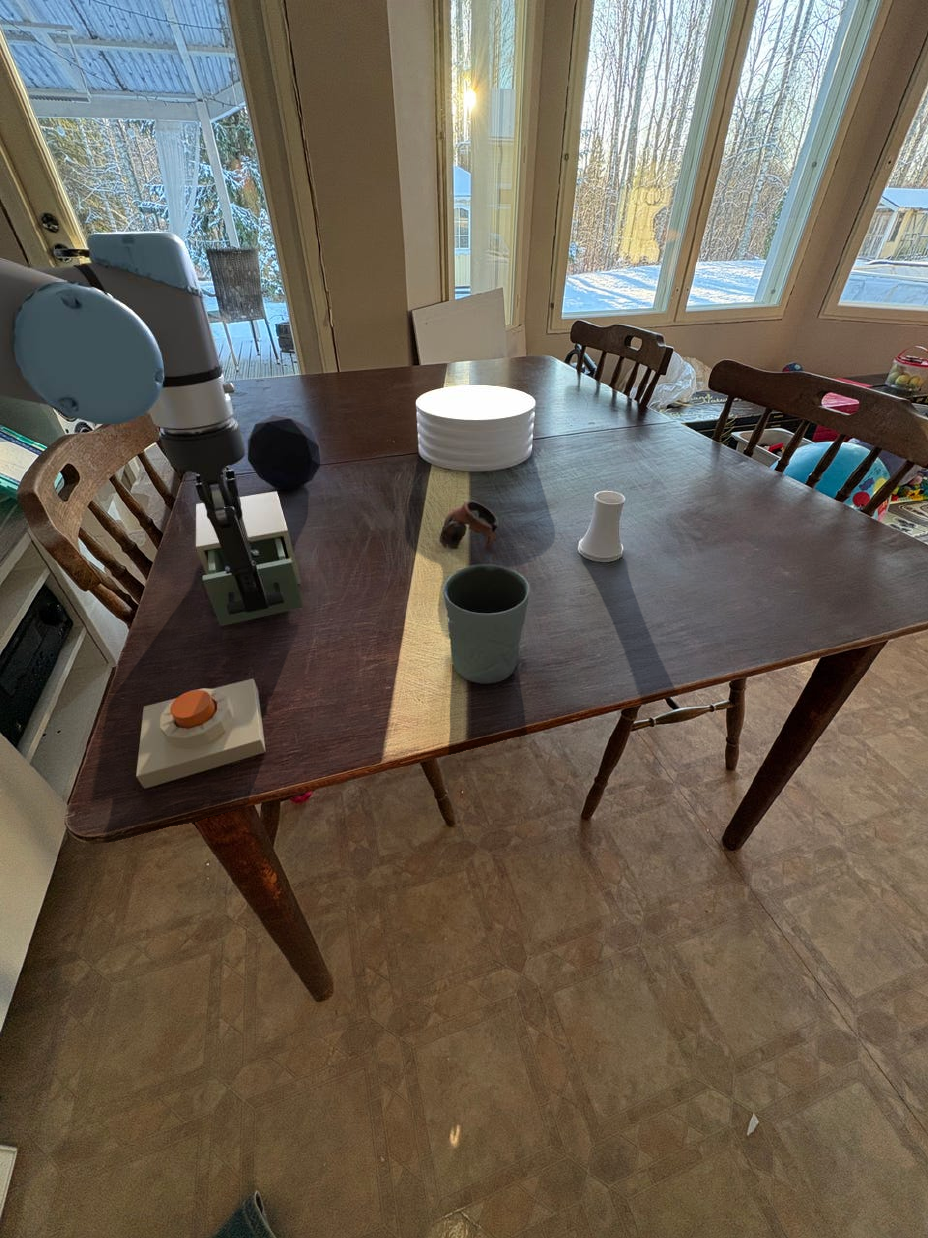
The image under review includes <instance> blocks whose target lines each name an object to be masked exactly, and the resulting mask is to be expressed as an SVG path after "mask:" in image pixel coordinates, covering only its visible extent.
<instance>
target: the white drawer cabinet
mask: <svg viewBox="0 0 928 1238" xmlns="http://www.w3.org/2000/svg"><path fill="white" fill-rule="evenodd" d="M239 497H240V500H241V509H242V515H243V516H242V518H243V521H244V524H245V528H246V531H247V535H248V538H249V540H250V541H251V542H252V541H258V540H263V539H268V538H274V537H279V536H280V539H281V542H282V546H283V550H284V554H285V558H286V559H290V558H291V561H292V565H293V569H294V573H295V577H296V581H297V585H300V584H301V583H302V581H301V578H300V574H299V571H298V565H297V562H296V558H295V553H294V550H293V545H292V542H291V538H290V534H289V530H288V527H287V523H286V520H285V516H284V512H283V509H282V505H281V502H280V501H281V500H280V498H279V495H278V491H277V490H275V491H270V492H263V493H257V494H250V495H245V496H244V495H243V496H239ZM220 547H221V546H220V543H219V541H218V538H217V535H216V533H215V530H214V528H213V526H212V524H211V522H210V520H209V519H208V518H207V510H206V508H205V505H204V502H201V503H196V504H195V549H196V551H197V554H198V557H199V560H200V562H201V564H202V567H203V569H204V572H205V575H209V574H210V573H209V565H208V550H209V549H214V548H220Z"/></svg>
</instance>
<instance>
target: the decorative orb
mask: <svg viewBox="0 0 928 1238" xmlns="http://www.w3.org/2000/svg"><path fill="white" fill-rule="evenodd" d="M247 462H248V463H249V464H250V466H251V467H252V469H253V470H254V472H255V473H256V475H257V476H258V477H259V479H261V481H264V482H265V483H267V484H269V485H270V486H271V487H273V488H274V489H285V490H286V489H287V490H297V489H298V488H300V487H303V486H305V485H306V484H308V483H309V482H311V481H312V480H313V479H314V478H315V476H316V474H317V473H318V472H319V469H320V467H321V465H322V464H321V446H320V444H319V442H318V440H317V438H316V436H315V434H314V432H313V430H312V428H311V427H310V426H308V425H307V424H305V423H303V422H302V421H300V420H299V419H297V418H296V417H292V416H285V415H276V414H272V415H271V416H269V417H267V418H264V419H263V420H261V421H259V422H257V423H255V424H254V426H253V428H252V430H251V433H250V435H249V437H248V439H247Z"/></svg>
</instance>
